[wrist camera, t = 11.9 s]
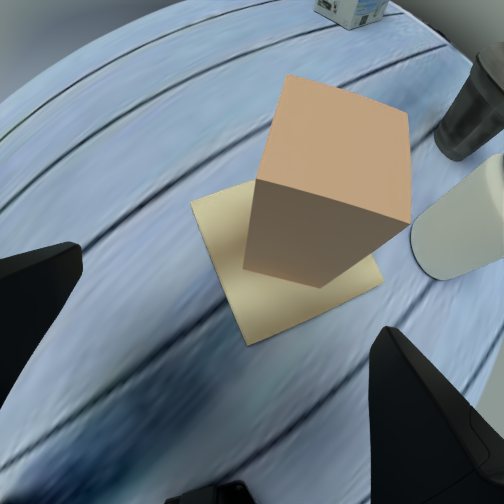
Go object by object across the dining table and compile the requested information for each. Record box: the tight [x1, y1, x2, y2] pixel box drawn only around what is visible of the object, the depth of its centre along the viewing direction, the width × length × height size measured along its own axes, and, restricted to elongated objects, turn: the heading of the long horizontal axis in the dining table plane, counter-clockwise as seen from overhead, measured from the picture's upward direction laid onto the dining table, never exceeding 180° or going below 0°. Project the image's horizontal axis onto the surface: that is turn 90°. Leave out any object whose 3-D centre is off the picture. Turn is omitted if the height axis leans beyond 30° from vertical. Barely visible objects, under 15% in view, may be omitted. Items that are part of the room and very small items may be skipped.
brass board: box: [190, 179, 384, 346], centre depth 23 cm, size 11×11×1 cm
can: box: [411, 154, 504, 280], centre depth 18 cm, size 6×6×12 cm
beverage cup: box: [434, 42, 504, 161], centre depth 18 cm, size 7×7×20 cm
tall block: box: [243, 74, 411, 289], centre depth 16 cm, size 6×6×12 cm
